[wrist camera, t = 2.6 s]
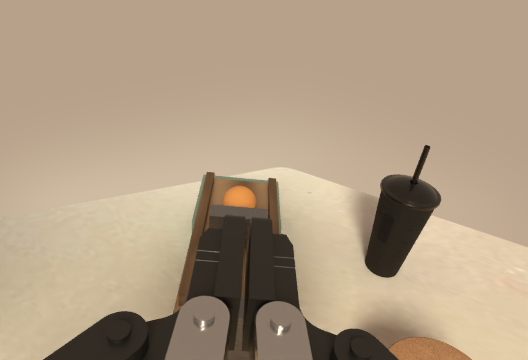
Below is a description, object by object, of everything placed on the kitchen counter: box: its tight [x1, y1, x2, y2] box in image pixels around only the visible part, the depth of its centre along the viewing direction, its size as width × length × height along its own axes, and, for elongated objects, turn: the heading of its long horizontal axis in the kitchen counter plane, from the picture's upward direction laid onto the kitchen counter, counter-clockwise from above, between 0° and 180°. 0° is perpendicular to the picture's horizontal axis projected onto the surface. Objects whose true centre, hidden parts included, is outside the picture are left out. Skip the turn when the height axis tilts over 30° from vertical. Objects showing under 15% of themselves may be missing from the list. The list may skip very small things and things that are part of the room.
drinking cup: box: [365, 145, 441, 278], centre depth 52 cm, size 8×8×20 cm
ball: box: [223, 186, 256, 208], centre depth 46 cm, size 4×4×4 cm
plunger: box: [184, 204, 267, 360], centre depth 33 cm, size 6×18×9 cm, turn 0°
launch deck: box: [173, 172, 280, 314], centre depth 46 cm, size 10×24×12 cm, turn 0°
